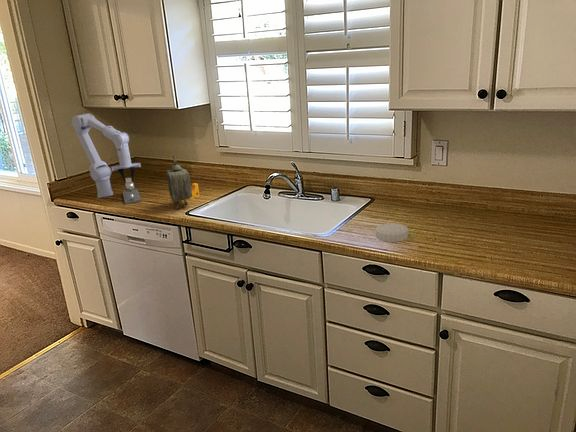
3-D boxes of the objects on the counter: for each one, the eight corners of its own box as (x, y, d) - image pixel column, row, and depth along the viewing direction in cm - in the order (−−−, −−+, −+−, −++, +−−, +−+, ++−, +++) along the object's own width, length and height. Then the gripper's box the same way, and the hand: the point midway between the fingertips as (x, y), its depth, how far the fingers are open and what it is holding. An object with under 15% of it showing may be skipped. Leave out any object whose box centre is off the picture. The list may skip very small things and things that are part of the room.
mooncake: (405, 243, 170) (405, 234, 169) (372, 240, 175) (372, 231, 174) (410, 231, 181) (410, 223, 179) (379, 229, 185) (379, 220, 184)
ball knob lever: (125, 184, 255) (124, 178, 254) (132, 183, 256) (131, 177, 255) (126, 190, 241) (125, 184, 240) (134, 189, 243) (133, 183, 242)
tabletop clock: (170, 203, 236) (163, 154, 228) (188, 200, 239) (182, 151, 231) (175, 211, 223) (167, 159, 215) (194, 207, 226) (187, 156, 218)
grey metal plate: (122, 193, 260) (121, 186, 258) (137, 190, 262) (136, 184, 261) (125, 204, 239) (123, 196, 238) (141, 201, 242) (140, 194, 240)
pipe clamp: (193, 194, 248) (192, 182, 246) (199, 195, 245) (198, 183, 243) (176, 201, 239) (174, 188, 237) (182, 202, 236) (180, 189, 234)
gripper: (109, 160, 237) (114, 186, 242) (139, 156, 242) (143, 181, 247) (109, 157, 244) (114, 182, 248) (138, 153, 248) (142, 178, 253)
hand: (128, 182), depth 248 cm, fingers closed on ball knob lever, 3 cm apart
